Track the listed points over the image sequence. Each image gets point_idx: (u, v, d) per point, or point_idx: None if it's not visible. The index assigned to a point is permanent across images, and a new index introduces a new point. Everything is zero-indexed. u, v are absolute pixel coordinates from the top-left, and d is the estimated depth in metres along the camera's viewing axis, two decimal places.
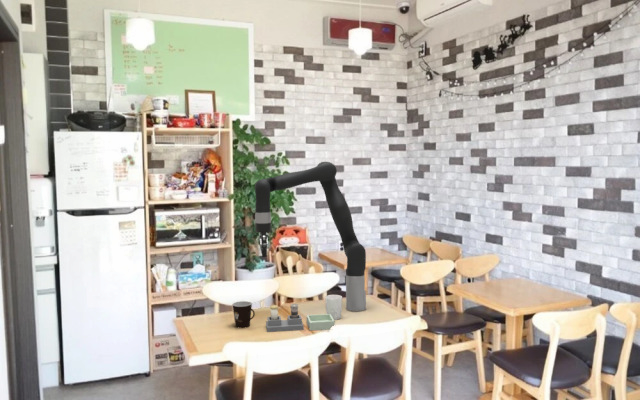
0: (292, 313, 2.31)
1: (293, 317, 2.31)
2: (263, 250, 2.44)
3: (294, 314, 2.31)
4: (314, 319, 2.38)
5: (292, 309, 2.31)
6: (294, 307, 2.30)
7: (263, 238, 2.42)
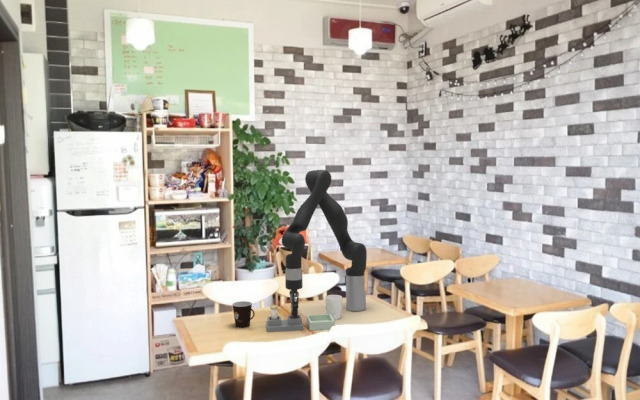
0: None
1: (293, 317, 2.31)
2: (294, 310, 2.29)
3: None
4: (314, 319, 2.38)
5: None
6: None
7: (294, 300, 2.25)
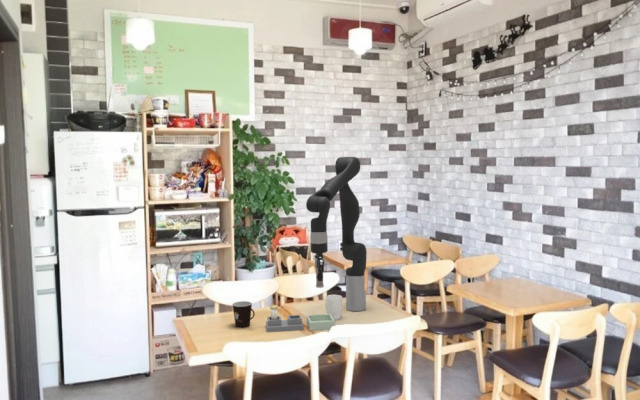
0: (317, 277, 2.31)
1: (318, 281, 2.31)
2: (319, 274, 2.29)
3: None
4: (314, 319, 2.38)
5: (317, 273, 2.31)
6: None
7: (320, 263, 2.25)
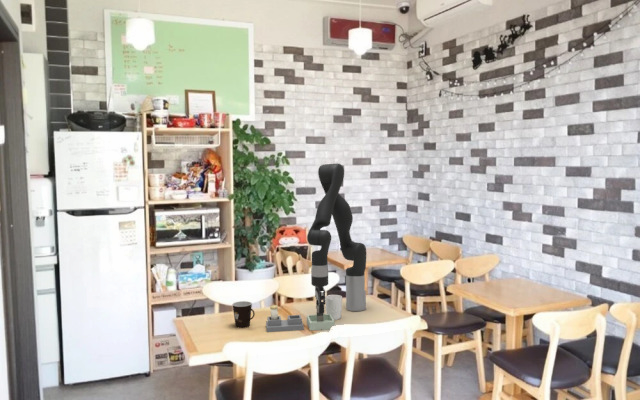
0: (318, 314, 2.32)
1: (319, 318, 2.32)
2: (321, 306, 2.28)
3: (320, 315, 2.32)
4: (314, 319, 2.38)
5: (318, 310, 2.32)
6: None
7: (321, 294, 2.26)
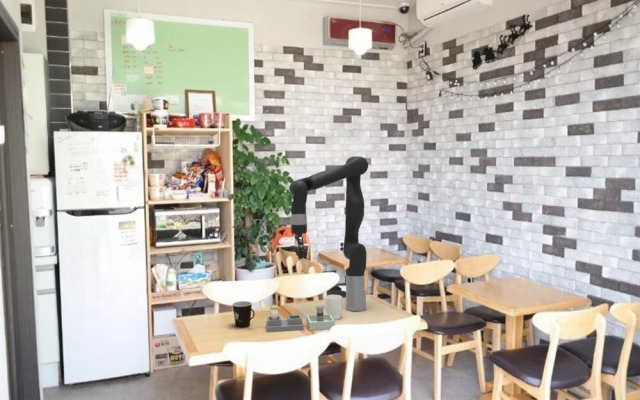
0: (318, 314, 2.32)
1: (319, 318, 2.32)
2: (299, 252, 2.42)
3: (320, 315, 2.32)
4: (314, 319, 2.38)
5: (318, 310, 2.32)
6: (320, 308, 2.31)
7: (300, 240, 2.40)
